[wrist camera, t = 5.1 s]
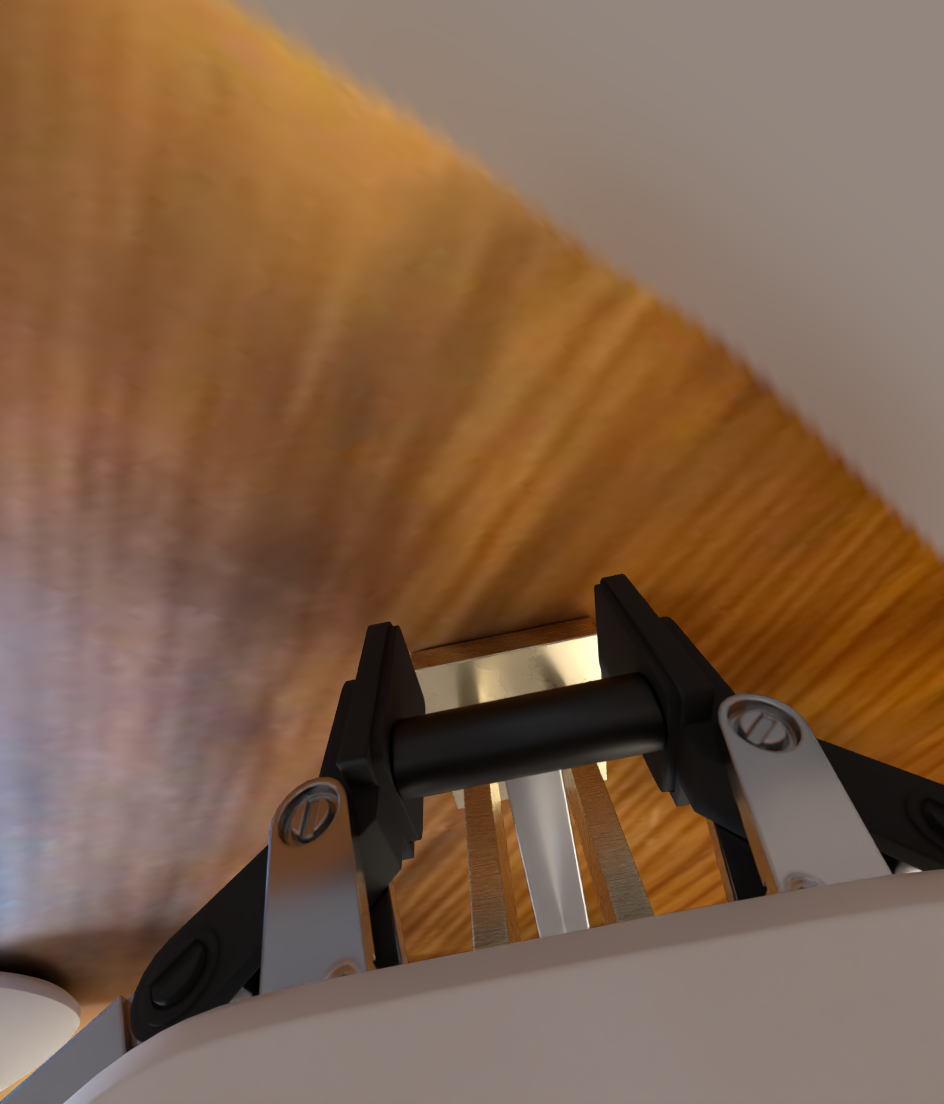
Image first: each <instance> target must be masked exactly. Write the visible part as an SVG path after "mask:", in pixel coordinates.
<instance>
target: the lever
mask: <svg viewBox="0 0 944 1104" xmlns="http://www.w3.org/2000/svg"><path fill="white" fill-rule="evenodd" d="M667 742H668V735H667V727H666V721H665V717H664V714H663V710H662V707H661V705H660V702H659V700H658V697H657V695H656V693H655V691H654V689H653V687H652V686H651V684H650V682H649V681H648V680H647V678H646V677H645V676H644V675H643V674H641V673H638V672H633V673H628V674H623V675H618V676H613V677H608V678H603V679H598V680H593V681H588V682H583V683H578V684H573V685H568V686H563V687H558V688H553V689H548V690H543V691H538V692H533V693H528V694H523V695H518V696H513V697H508V698H503V699H498V700H493V701H488V702H483V703H478V704H473V705H468V706H463V707H458V708H453V709H448V710H443V711H438V712H433V713H428V714H423V715H418V716H413V717H408V718H403V719H398V720H397V721H396V722H395V723H394V724H393V727H392V732H391V739H390V759H391V768H392V775H393V779H394V783H395V786H396V789H397V792H398V794H399V796H400V797H401V798H402V799H404V800H411V799H416V798H421V797H426V796H431V795H436V794H441V793H446V792H451V791H457V790H462V789H467V788H472V787H477V786H482V785H487V784H492V783H497V782H502V781H505V784H506V788H507V793H508V797H509V802H510V806H511V811H512V815H513V820H514V824H515V829H516V833H517V837H518V842H519V846H520V851H521V855H522V860H523V864H524V869H525V873H526V878H527V882H528V887H529V891H530V895H531V900H532V904H533V909H534V913H535V918H536V922H537V927H538V931H539V936H540V938H542V937H547V936H552V935H557V934H563V933H568V932H573V931H578V930H584V929H589V928H590V924H589V919H588V913H587V907H586V902H585V896H584V890H583V885H582V879H581V874H580V868H579V862H578V857H577V851H576V845H575V840H574V834H573V828H572V823H571V817H570V812H569V806H568V800H567V795H566V789H565V783H564V778H563V772H562V770H564V769H569V768H574V767H579V766H584V765H589V764H594V763H599V762H605V761H610V760H615V759H620V758H625V757H630V756H635V755H640V754H645V753H650V752H656V751H661V750H663V749H664V748H665V747H666V746H667Z"/></svg>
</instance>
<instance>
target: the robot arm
mask: <svg viewBox="0 0 944 1104" xmlns="http://www.w3.org/2000/svg"><path fill="white" fill-rule="evenodd" d="M594 593H595V610H596V626H597V642H598V659H599V666H600V669H601V672H602V675H603V677H604V678H608V677H613V676H618V675H623V674H628V673H633V672H638V673H641V674H643V675H644V676H645V677H646V678H647V680H648V681H649V682H650V684H651V686H652V687H653V689H654V691H655V693H656V695H657V697H658V700H659V702H660V705H661V707H662V710H663V714H664V717H665V721H666V727H667V735H668V742H667V746H666V747H665V748H664V749H663V750H661V751H656V752H650V753H645V754H642V755H643V757H644V759H645V761H646V763H647V765H648V767H649V769H650V771H651V773H652V775H653V777H654V779H655V781H656V783H657V785H658V787H659V789H660V790H661V791H662V792H668V791H669V792H670V794H671V796H672V798H673V800H674V802H675V804H676V806H677V807H678V806H683V805H688V804H691V806H692V808H693V810H694V811H695V812H696V813H698V814H700V815H702V816H704V817H706V820H707V824H708V828H709V832H710V836H711V839H712V843H713V847H714V851H715V855H716V859H717V863H718V866H719V870H720V874H721V878H722V882H723V886H724V890H725V894H726V897H727V901H728V903H723V904H718V905H712V906H707V907H701V908H696V909H690V910H685V911H680V912H674V913H669V914H663V915H658V916H653V917H647V918H642V919H637V920H631V921H626V922H621V923H616V924H610V925H605V926H600V927H594V928H589V929H584V930H578V931H573V932H568V933H563V934H557V935H552V936H547V937H542V938H536V939H531V940H526V941H521V942H515V943H510V944H505V945H500V946H494V947H489V948H484V949H479V950H474V951H469V952H464V953H459V954H453V955H448V956H443V957H438V958H433V959H428V960H423V961H418V962H413V963H408V958H407V953H406V947H405V942H404V936H403V931H402V926H401V920H400V915H399V910H398V904H397V899H396V893H395V888H394V883H393V878H394V877H395V876H396V875H397V873H398V872H399V871H400V870H401V866H402V860H405V859H410V858H414V842H415V841H416V840H421V838H422V831H423V797H421V798H416V799H411V800H404V799H402V798H401V797H400V796H399V794H398V792H397V789H396V786H395V783H394V779H393V775H392V768H391V759H390V739H391V732H392V727H393V724H394V723H395V722H396V721H397V720H398V719H403V718H408V717H413V716H418V715H423V714H426V708H425V700H424V696H423V693H422V690H421V687H420V684H419V681H418V678H417V675H416V672H415V670H414V667H413V664H412V661H411V658H410V655H409V652H408V649H407V646H406V643H405V640H404V638H403V635H402V632H401V629H400V627H399V626H398V625H397V626H392V624H391V622H385V623H380V624H375V625H370V626H368V629H367V633H366V637H365V641H364V646H363V650H362V654H361V659H360V663H359V667H358V672H357V676H356V679H355V680H350V681H346V682H345V684H344V686H343V688H342V692H341V695H340V699H339V703H338V707H337V710H336V714H335V718H334V722H333V726H332V729H331V733H330V737H329V741H328V744H327V748H326V752H325V756H324V760H323V763H322V767H321V771H320V775H319V777H318V778H315V779H311V780H308V781H306V782H305V783H303V784H301V785H300V786H298V787H296V788H295V789H294V790H293V791H292V792H291V793H290V794H288V795H287V796H286V798H285V799H284V800H283V801H282V803H281V804H280V805H279V807H278V808H277V810H276V812H275V814H274V816H273V818H272V821H271V826H270V830H269V843H268V845H267V846H266V847H265V848H264V849H263V850H262V851H261V852H260V853H259V854H258V855H257V856H256V857H255V858H254V859H253V860H252V861H251V862H250V863H249V864H248V865H247V866H245V867H244V868H243V869H242V870H241V871H240V872H239V873H238V874H237V875H236V876H235V877H234V878H233V879H232V880H231V881H230V882H229V883H228V884H227V885H226V886H225V887H224V888H223V889H222V890H220V891H219V892H218V893H217V894H216V895H215V896H214V897H213V898H212V899H211V900H210V901H209V902H208V903H207V904H206V905H205V906H204V907H203V908H202V909H201V910H200V911H199V912H198V913H197V914H195V915H194V916H193V917H192V918H191V919H190V920H189V921H188V922H187V923H186V924H185V925H184V926H183V927H182V928H181V929H180V930H179V931H178V932H177V933H176V934H175V935H174V936H173V937H172V938H170V939H169V941H168V942H167V943H166V944H165V945H164V946H163V947H162V948H161V950H160V951H159V952H158V953H157V954H156V955H155V957H154V958H153V960H152V961H151V963H150V964H149V966H148V967H147V969H146V970H145V972H144V973H143V976H142V978H141V980H140V982H139V984H138V986H137V989H136V991H135V992H134V993H133V994H132V995H131V996H130V997H129V998H128V999H126V998H124V997H123V996H119V997H118V998H117V999H116V1000H115V1001H114V1002H113V1003H112V1004H110V1005H109V1006H108V1007H107V1008H106V1009H105V1010H104V1011H102V1012H101V1013H100V1014H99V1015H98V1016H97V1017H96V1018H95V1019H93V1020H92V1021H91V1022H90V1023H89V1024H88V1025H87V1026H86V1027H84V1028H83V1029H82V1030H81V1031H80V1032H79V1033H78V1034H76V1035H75V1036H74V1037H73V1038H72V1039H71V1040H70V1041H69V1042H67V1043H66V1044H65V1045H64V1046H63V1047H62V1048H61V1049H59V1050H58V1051H57V1052H56V1053H55V1054H54V1055H53V1056H52V1057H50V1058H49V1059H48V1060H47V1061H46V1062H45V1063H44V1064H42V1065H41V1066H40V1067H39V1068H38V1069H37V1070H36V1071H35V1072H33V1073H32V1074H31V1075H30V1076H29V1077H28V1078H27V1079H25V1080H24V1081H23V1082H22V1083H21V1084H20V1085H19V1086H18V1087H16V1088H15V1089H14V1090H13V1091H12V1092H11V1093H10V1094H8V1095H7V1096H6V1097H5V1098H4V1099H3V1100H2V1101H1V1102H0V1104H944V785H942V784H939V783H937V782H934V781H931V780H929V779H926V778H923V777H920V776H918V775H915V774H912V773H909V772H907V771H904V770H901V769H899V768H896V767H893V766H890V765H888V764H885V763H882V762H879V761H877V760H874V759H871V758H868V757H866V756H863V755H860V754H858V753H855V752H852V751H849V750H847V749H844V748H841V747H838V746H836V745H833V744H830V743H828V742H825V741H822V740H819V739H817V738H815V736H814V734H813V732H812V730H811V729H810V727H809V725H808V724H807V723H806V721H805V720H804V719H803V718H802V716H801V715H800V714H799V713H797V712H796V711H795V710H794V709H792V708H791V707H790V706H788V705H786V704H784V703H782V702H780V701H779V700H777V699H774V698H771V697H768V696H764V695H760V694H752V693H744V694H735V693H734V692H733V691H732V689H731V688H730V687H729V686H728V685H727V683H726V682H725V681H724V680H723V679H722V677H721V676H720V675H719V674H718V673H717V672H716V670H715V669H714V668H713V667H712V666H711V664H710V663H709V662H708V661H707V660H706V659H705V657H704V656H703V655H702V654H701V653H700V651H699V650H698V649H697V648H696V647H695V645H694V644H693V643H692V642H691V641H690V640H689V638H688V637H687V636H686V635H685V634H684V632H683V631H682V630H681V629H680V628H679V626H678V625H677V624H676V623H675V622H674V621H673V620H672V619H671V618H669V617H667V616H666V617H661V618H659V617H658V616H657V614H656V613H655V612H654V611H653V609H652V608H651V607H650V606H649V604H648V603H647V602H646V601H645V599H644V598H643V597H642V596H641V594H640V593H639V592H638V591H637V589H636V588H635V587H634V586H633V584H632V583H631V582H630V581H629V579H628V578H627V577H626V576H625V575H624V574H619V575H614V576H609V577H604V578H602V579H601V581H600V584H598V585H595V587H594Z"/></svg>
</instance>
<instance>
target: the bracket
mask: <svg viewBox="0 0 944 1104" xmlns="http://www.w3.org/2000/svg"><path fill="white" fill-rule="evenodd" d="M411 661H412V664H413V667H414V670H415V672H416V675H417V678H418V681H419V684H420V687H421V690H422V693H423V696H424V700H425V708H426V714H428V713H433V712H438V711H443V710H448V709H453V708H458V707H463V706H468V705H473V704H478V703H483V702H488V701H493V700H498V699H503V698H508V697H513V696H518V695H523V694H528V693H533V692H538V691H543V690H548V689H553V688H558V687H563V686H568V685H573V684H578V683H583V682H588V681H593V680H598V679H602V672H601V669H600V666H599V659H598V642H597V628H596V627H595V625H594V623H593V621H592V619H591V618H590V617H586V618H581V619H576V620H571V621H566V622H561V623H556V624H551V625H546V626H541V627H536V628H531V629H526V630H522V631H517V632H512V633H507V634H502V635H497V636H492V637H487V638H482V639H477V640H472V641H467V642H462V643H457V644H452V645H448V646H443V647H438V648H433V649H428V650H423V651H418V652H413V653H411ZM562 772H563V778H564V783H565V789H566V792H567V796H568V799H569V803H570V806H571V810H572V813H573V817H574V820H575V824H576V827H577V831H578V834H579V838H580V841H581V845H582V848H583V852H584V855H585V859H586V862H587V866H588V869H589V872H590V876H591V879H592V883H593V886H594V890H595V893H596V897H597V900H598V904H599V907H600V911H601V914H602V918H603V921H604V925H610V924H616V923H621V922H626V921H631V920H637V919H642V918H647V917H653V916H655V915H654V913H653V910H652V907H651V905H650V902H649V900H648V897H647V894H646V892H645V889H644V886H643V884H642V881H641V878H640V876H639V873H638V870H637V868H636V865H635V862H634V860H633V857H632V855H631V852H630V849H629V847H628V844H627V841H626V839H625V836H624V833H623V831H622V828H621V825H620V823H619V820H618V818H617V815H616V812H615V810H614V807H613V804H612V802H611V799H610V796H609V794H608V791H607V788H606V786H605V783H604V781H605V780H607V765H606V761H605V762H599V763H594V764H589V765H584V766H579V767H574V768H569V769H564V770H562ZM452 793H453V796H454V799H455V801H456V804H457V807H458V809H461V808H465V823H466V839H467V855H468V870H469V886H470V902H471V918H472V934H473V950H479V949H484V948H489V947H494V946H500V945H505V944H510V943H515V942H521V941H520V934H519V927H518V920H517V912H516V905H515V898H514V891H513V884H512V877H511V870H510V863H509V856H508V849H507V842H506V835H505V828H504V821H503V813H502V806H501V801H502V800H507V799H509V797H508V793H507V788H506V784H505V781H502V782H497V783H492V784H487V785H482V786H477V787H472V788H467V789H462V790H457V791H452Z"/></svg>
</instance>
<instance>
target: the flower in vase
mask: <svg viewBox="0 0 944 1104" xmlns="http://www.w3.org/2000/svg"><path fill="white" fill-rule="evenodd" d="M79 1025H80V1006H79V1004H78V1002H77V1001H76V1000H75V999H74V998H73V997H72V996H71V995H70V994H69V993H68V992H67V991H65V990H64V989H62V988H61V987H59V986H57V985H55V984H53V983H51V982H48V981H45V980H42V979H39V978H35V977H31V976H27V975H22V974H16V973H10V972H0V1092H1V1091H3V1090H4V1089H6V1088H7V1087H9V1086H10V1085H12V1084H13V1083H15V1082H16V1081H18V1080H19V1079H21V1078H22V1077H24V1076H25V1075H27V1074H28V1073H30V1072H31V1071H32V1070H34V1069H35V1068H37V1067H38V1066H39V1065H41V1064H42V1063H43V1062H44V1061H46V1060H47V1059H48V1058H49V1057H51V1056H52V1055H53V1054H55V1053H56V1052H57V1051H58V1050H59V1049H61V1048H62V1047H63V1046H64V1045H65V1044H66V1043H67V1041H68V1040H69V1039H70V1038H71V1036H72V1035H73V1034H74V1033H75V1032H76V1030H77V1029H78V1028H79Z"/></svg>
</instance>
